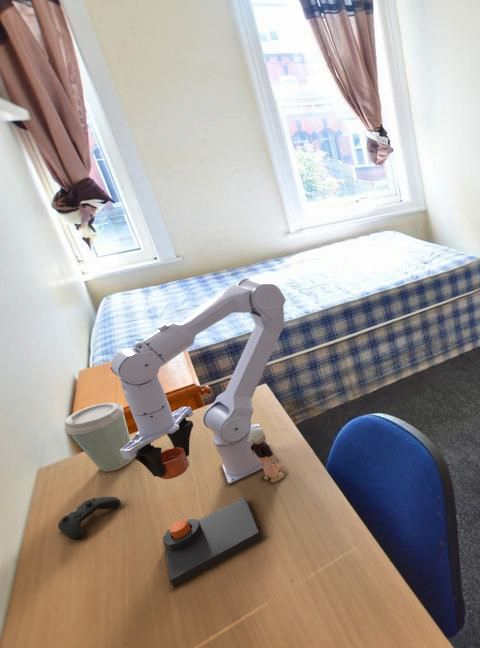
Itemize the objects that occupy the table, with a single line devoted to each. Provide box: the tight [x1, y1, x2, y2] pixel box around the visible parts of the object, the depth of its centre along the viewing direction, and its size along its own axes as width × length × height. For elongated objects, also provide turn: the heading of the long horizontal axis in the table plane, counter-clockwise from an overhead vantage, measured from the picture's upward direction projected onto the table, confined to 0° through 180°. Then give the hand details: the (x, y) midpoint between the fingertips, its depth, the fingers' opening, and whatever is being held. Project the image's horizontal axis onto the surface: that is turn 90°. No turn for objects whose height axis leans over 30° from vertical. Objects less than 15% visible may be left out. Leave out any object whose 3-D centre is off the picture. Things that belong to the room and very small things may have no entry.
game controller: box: [57, 496, 122, 541], centre depth 95 cm, size 10×5×6 cm
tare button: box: [169, 519, 190, 539], centre depth 86 cm, size 3×3×2 cm
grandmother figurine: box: [248, 427, 285, 483], centre depth 100 cm, size 8×4×13 cm, turn 71°
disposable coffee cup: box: [63, 401, 133, 473], centre depth 109 cm, size 11×11×15 cm
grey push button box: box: [162, 496, 263, 589], centre depth 87 cm, size 14×12×4 cm
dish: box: [158, 446, 190, 480], centre depth 95 cm, size 5×5×4 cm
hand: (172, 465), depth 95 cm, fingers closed on dish, 5 cm apart
